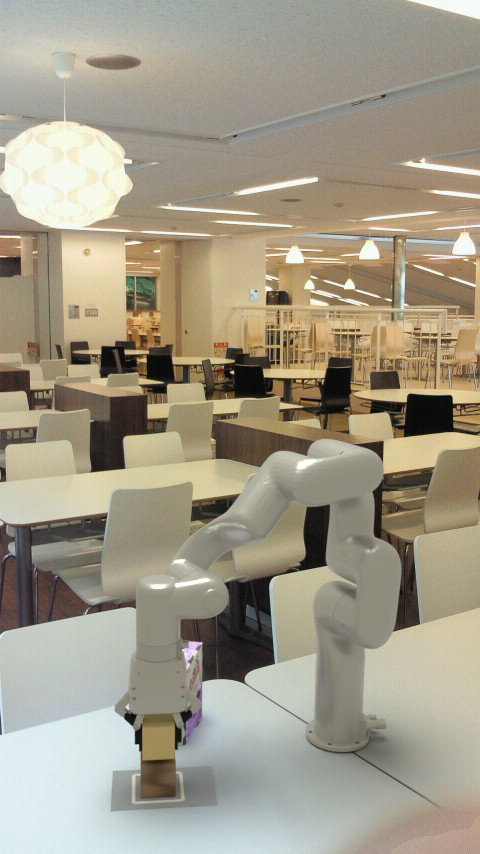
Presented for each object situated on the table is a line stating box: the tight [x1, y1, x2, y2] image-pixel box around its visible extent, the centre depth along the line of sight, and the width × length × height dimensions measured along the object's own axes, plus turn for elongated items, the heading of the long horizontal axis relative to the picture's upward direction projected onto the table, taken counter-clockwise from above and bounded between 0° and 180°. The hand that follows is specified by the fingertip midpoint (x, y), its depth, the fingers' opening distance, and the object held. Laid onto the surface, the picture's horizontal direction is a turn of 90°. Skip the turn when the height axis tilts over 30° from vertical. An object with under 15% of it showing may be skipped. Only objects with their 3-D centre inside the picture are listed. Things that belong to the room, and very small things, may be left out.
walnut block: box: [140, 752, 177, 799], centre depth 147 cm, size 6×6×6 cm
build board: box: [110, 765, 219, 812], centre depth 148 cm, size 18×12×1 cm, turn 97°
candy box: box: [178, 640, 203, 746], centre depth 168 cm, size 14×6×16 cm, turn 168°
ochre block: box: [142, 713, 176, 760], centre depth 147 cm, size 6×6×6 cm
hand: (158, 745), depth 147 cm, fingers closed on ochre block, 5 cm apart
